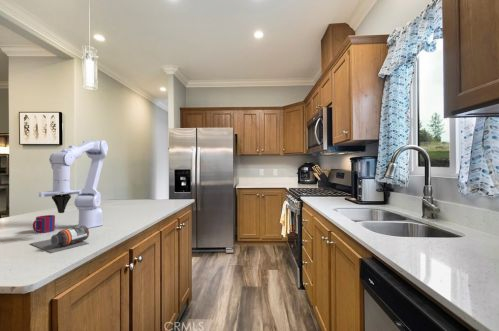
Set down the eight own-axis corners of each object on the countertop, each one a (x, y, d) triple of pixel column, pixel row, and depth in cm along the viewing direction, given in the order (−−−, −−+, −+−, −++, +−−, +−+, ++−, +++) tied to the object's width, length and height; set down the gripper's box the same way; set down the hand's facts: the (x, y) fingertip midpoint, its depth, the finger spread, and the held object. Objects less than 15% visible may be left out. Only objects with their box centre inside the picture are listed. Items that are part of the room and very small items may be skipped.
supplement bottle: (81, 241, 98) (50, 250, 88) (77, 227, 99) (46, 235, 88) (91, 237, 96) (61, 246, 86) (87, 223, 97) (57, 230, 86)
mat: (66, 236, 103) (66, 235, 103) (88, 243, 94) (88, 243, 94) (30, 244, 93) (30, 243, 93) (50, 253, 83) (50, 252, 83)
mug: (58, 229, 114) (58, 215, 114) (39, 235, 104) (39, 219, 104) (44, 229, 115) (45, 214, 115) (24, 235, 105) (24, 219, 105)
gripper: (44, 181, 94) (44, 216, 94) (85, 180, 106) (84, 210, 106) (36, 180, 97) (36, 214, 97) (77, 179, 110) (76, 209, 110)
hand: (61, 212), depth 102 cm, fingers closed
